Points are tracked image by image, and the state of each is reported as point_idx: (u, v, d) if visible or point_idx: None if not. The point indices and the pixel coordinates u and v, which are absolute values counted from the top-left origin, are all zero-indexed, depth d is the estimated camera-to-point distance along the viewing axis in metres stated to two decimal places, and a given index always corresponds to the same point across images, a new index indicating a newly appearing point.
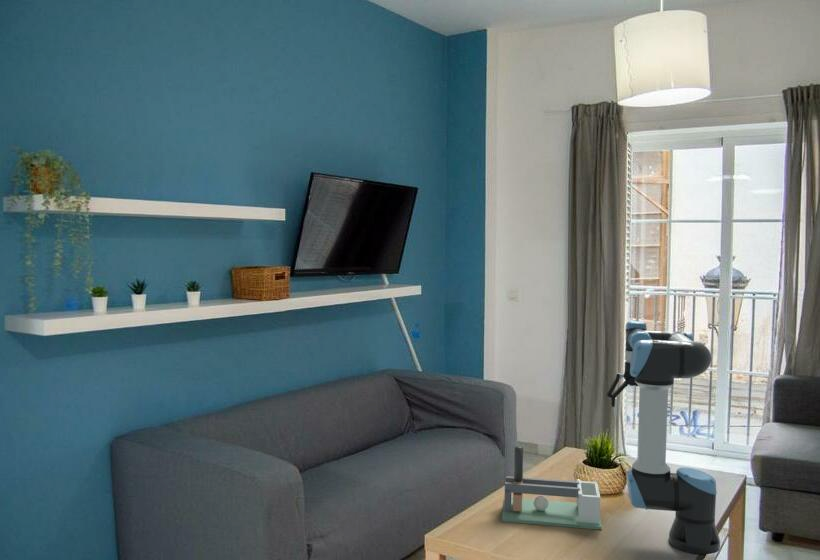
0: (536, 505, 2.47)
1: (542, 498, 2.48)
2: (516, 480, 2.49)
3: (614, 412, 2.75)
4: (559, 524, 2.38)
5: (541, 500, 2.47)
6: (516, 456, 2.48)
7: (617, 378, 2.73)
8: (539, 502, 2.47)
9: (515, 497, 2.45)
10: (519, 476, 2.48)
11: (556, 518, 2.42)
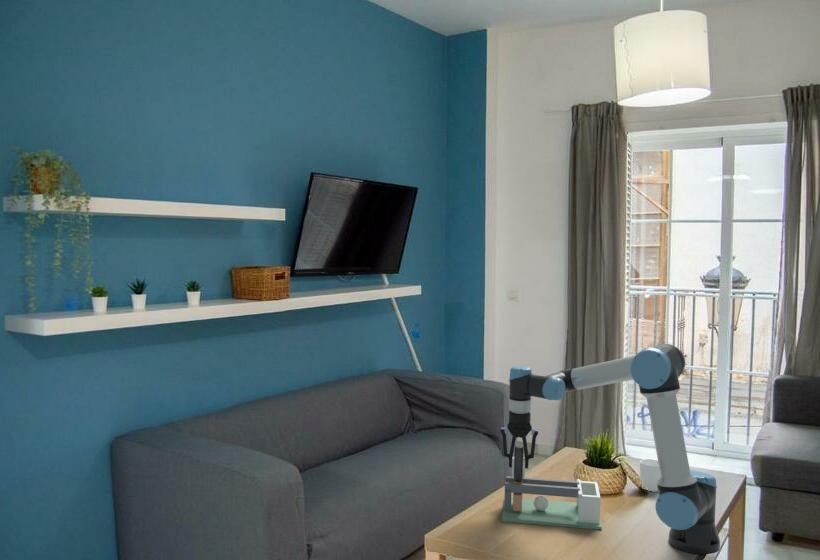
0: (536, 505, 2.47)
1: (542, 498, 2.48)
2: (516, 480, 2.49)
3: None
4: (559, 524, 2.38)
5: (541, 500, 2.47)
6: (516, 456, 2.48)
7: (503, 434, 2.49)
8: (539, 502, 2.47)
9: (515, 497, 2.45)
10: (519, 476, 2.48)
11: (556, 518, 2.42)
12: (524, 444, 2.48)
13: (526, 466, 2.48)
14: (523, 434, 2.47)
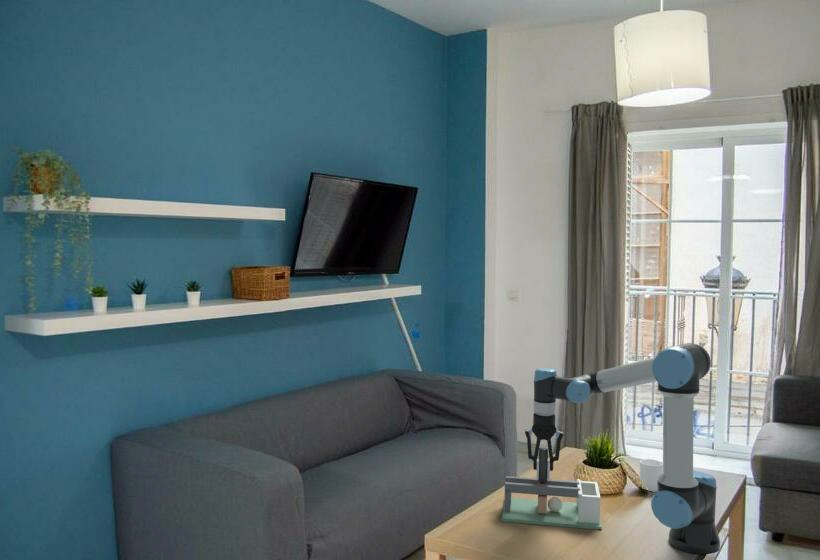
0: (555, 502, 2.46)
1: (560, 508, 2.47)
2: (541, 482, 2.47)
3: (536, 476, 2.48)
4: (559, 524, 2.38)
5: (559, 508, 2.46)
6: (541, 458, 2.47)
7: (527, 436, 2.47)
8: (558, 506, 2.46)
9: (540, 499, 2.44)
10: (543, 478, 2.47)
11: (556, 518, 2.42)
12: (549, 446, 2.46)
13: (551, 468, 2.47)
14: (548, 436, 2.45)
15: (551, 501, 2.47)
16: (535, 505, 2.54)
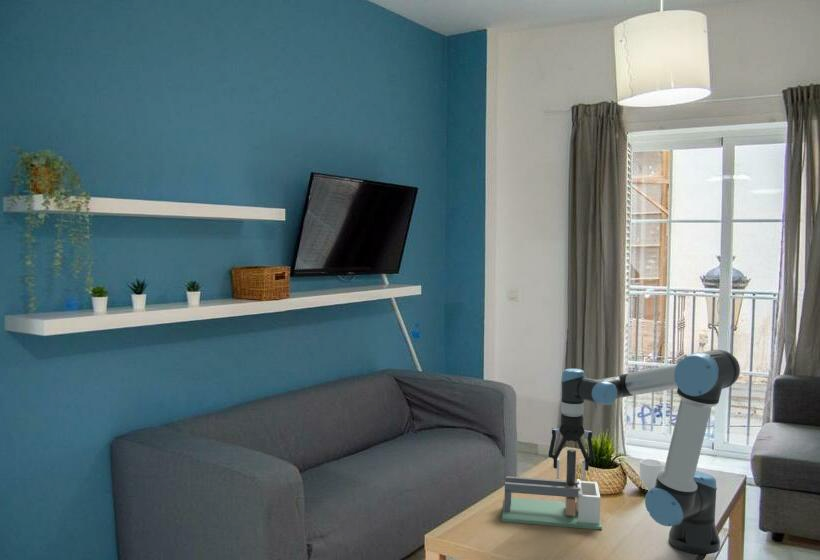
0: None
1: None
2: (569, 484, 2.45)
3: None
4: (559, 524, 2.38)
5: None
6: (569, 460, 2.45)
7: (553, 435, 2.45)
8: None
9: (568, 501, 2.42)
10: (571, 480, 2.45)
11: (556, 518, 2.42)
12: (581, 447, 2.44)
13: (586, 468, 2.45)
14: (577, 437, 2.43)
15: None
16: (535, 505, 2.54)
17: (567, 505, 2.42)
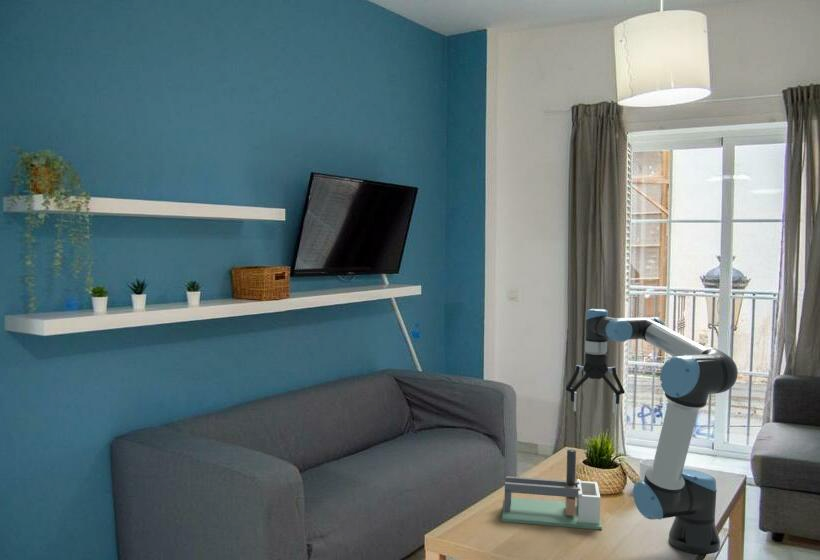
0: None
1: None
2: (569, 484, 2.45)
3: None
4: (559, 524, 2.38)
5: None
6: (569, 460, 2.45)
7: (576, 370, 2.52)
8: None
9: (568, 501, 2.42)
10: (571, 480, 2.45)
11: (556, 518, 2.42)
12: (608, 382, 2.51)
13: (617, 401, 2.51)
14: (602, 374, 2.50)
15: None
16: (535, 505, 2.54)
17: (567, 505, 2.42)
